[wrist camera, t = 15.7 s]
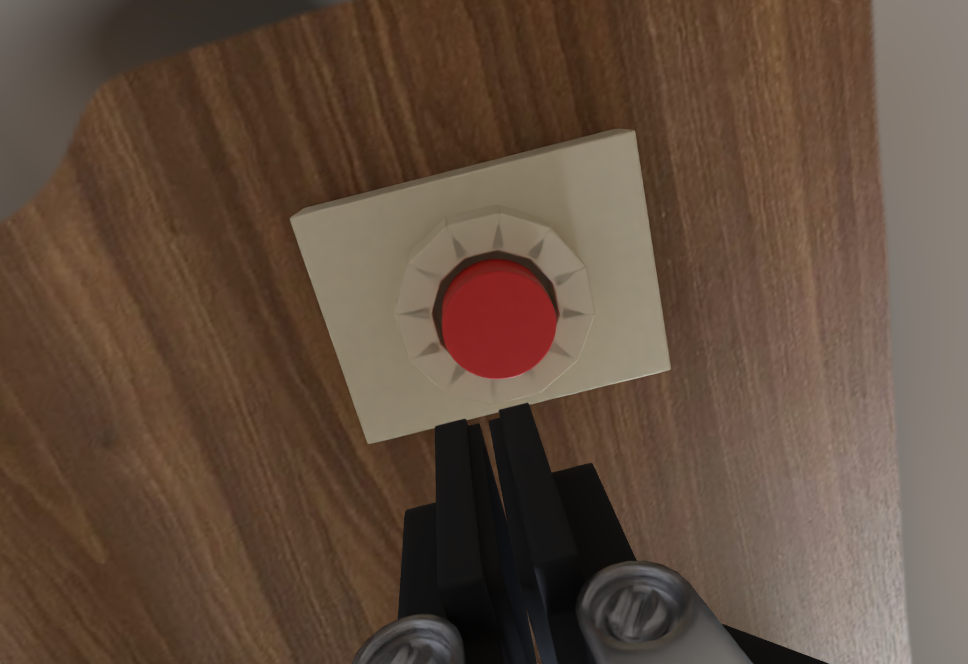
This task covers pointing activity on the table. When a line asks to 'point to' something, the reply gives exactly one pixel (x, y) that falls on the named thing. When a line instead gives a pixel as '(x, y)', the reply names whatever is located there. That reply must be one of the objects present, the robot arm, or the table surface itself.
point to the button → (497, 319)
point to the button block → (481, 236)
